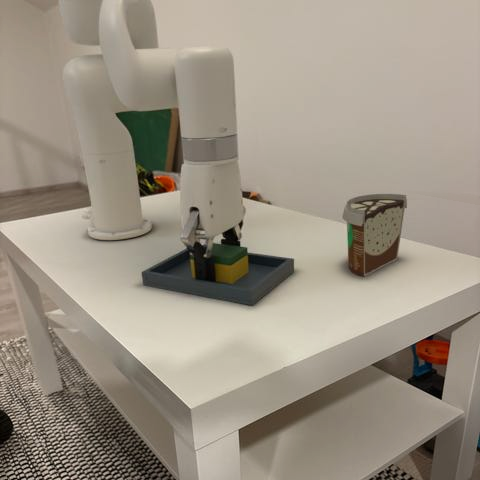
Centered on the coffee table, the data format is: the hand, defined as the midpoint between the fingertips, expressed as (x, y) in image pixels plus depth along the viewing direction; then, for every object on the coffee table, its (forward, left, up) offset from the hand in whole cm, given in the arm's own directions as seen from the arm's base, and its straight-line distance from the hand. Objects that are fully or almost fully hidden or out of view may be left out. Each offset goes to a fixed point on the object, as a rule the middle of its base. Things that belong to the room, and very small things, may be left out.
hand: (219, 272), depth 77 cm
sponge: (0, 0, 0) cm, 0 cm away
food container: (+18, +14, -1) cm, 23 cm away
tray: (0, 0, -1) cm, 1 cm away
